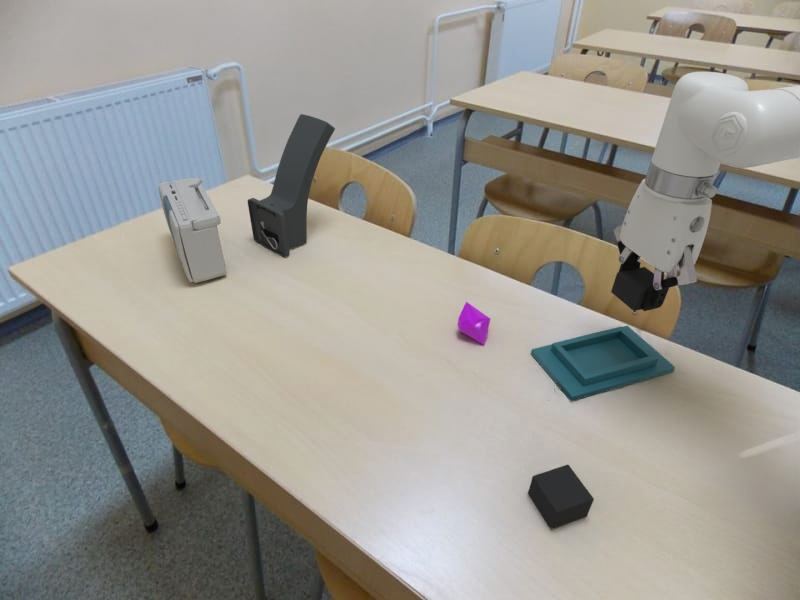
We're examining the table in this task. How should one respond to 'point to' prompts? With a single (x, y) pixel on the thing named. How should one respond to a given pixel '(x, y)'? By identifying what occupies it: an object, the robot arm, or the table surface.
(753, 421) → the table surface
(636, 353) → the dock
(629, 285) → the black block
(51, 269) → the table surface
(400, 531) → the table surface
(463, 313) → the crystal
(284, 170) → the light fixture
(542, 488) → the black square block
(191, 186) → the radio
